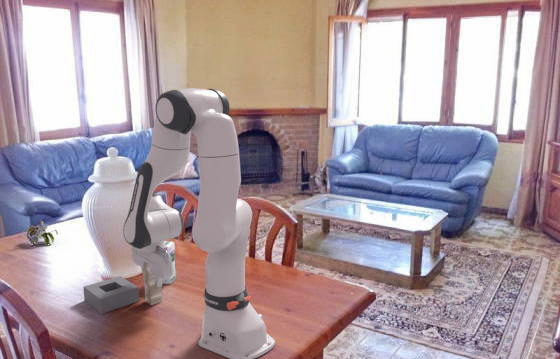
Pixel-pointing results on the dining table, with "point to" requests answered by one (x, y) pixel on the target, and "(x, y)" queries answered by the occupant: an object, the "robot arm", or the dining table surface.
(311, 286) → the dining table surface
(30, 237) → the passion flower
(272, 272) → the dining table surface
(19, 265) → the dining table surface
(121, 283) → the socket block
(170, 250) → the syrup box
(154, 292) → the cream peg
